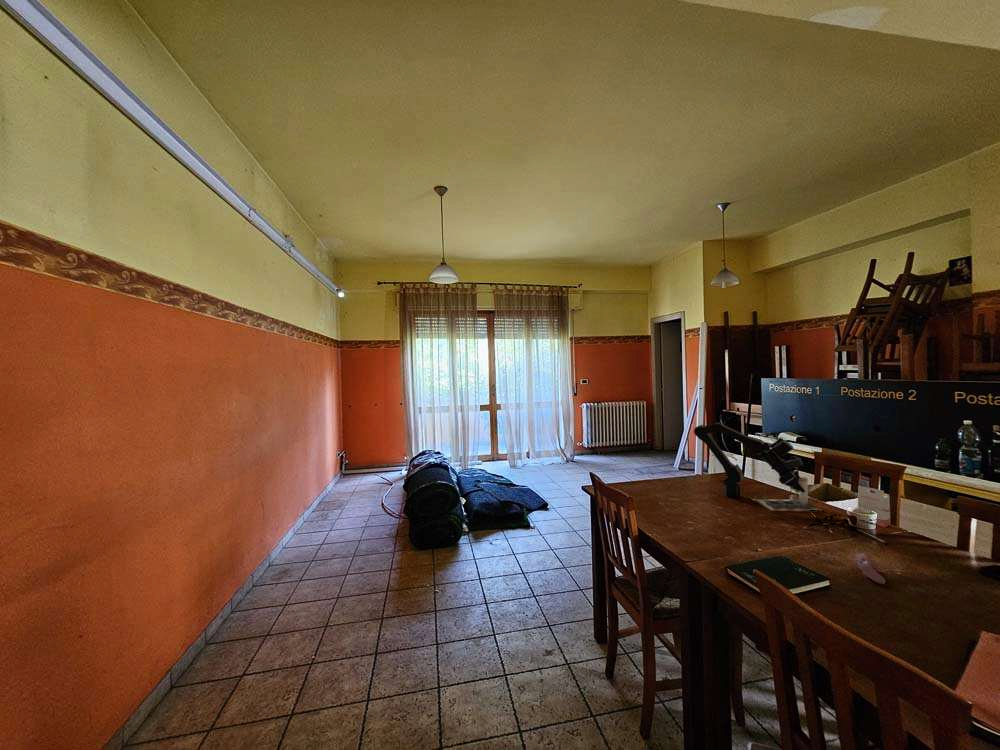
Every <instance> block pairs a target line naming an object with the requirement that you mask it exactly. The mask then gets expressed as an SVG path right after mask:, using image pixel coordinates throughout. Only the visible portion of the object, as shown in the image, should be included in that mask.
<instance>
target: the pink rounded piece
mask: <svg viewBox="0 0 1000 750" xmlns="http://www.w3.org/2000/svg"><path fill="white" fill-rule="evenodd" d="M854 561H855V562H856V563H857V564H858V567H859V569H860V571H861V572H862V574H863V576H866V578H870V579H871V580H872V581H874V582H876V583H877V584H880V585H885V584H886V583H887V582H886V579H885V578H884V576H883V575H881V574H880V573H879V572H880V571H881V567H880V566H879V565H878V563H875V562H874V561H873V560H871V558H869V557H868V556H867V555H866V554H865V553H857V554H856V553H855V558H854Z"/></svg>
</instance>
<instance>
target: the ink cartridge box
mask: <svg viewBox="0 0 1000 750" xmlns="http://www.w3.org/2000/svg"><path fill="white" fill-rule="evenodd" d="M857 491H858V492H857V509H858V508H864V509H868V510H870V511H874V512H876V513H877V524H878V525H877V526H878V527H882V528H887V527H886V525H885V524H887V525H889V526H890V525H891V503H890V499H891V498H890V495H889V496H888V495H885V491H884V490H882V489H878V488H872V487H868V486H862V485H858V487H857ZM871 491H872V492H871Z"/></svg>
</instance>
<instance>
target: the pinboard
mask: <svg viewBox="0 0 1000 750" xmlns="http://www.w3.org/2000/svg"><path fill="white" fill-rule="evenodd" d="M756 503H758V504H760V505H762V506H764V507H765V508H767V509H769V510H770V511H772V512H777V511H779V512H811V511H810V510H816V511H817V508H816V505H815V504H813V503H811V502H809V501H808V505H801V504H799V495H795V494H790V495H789V499H762V498H761V499H760V498H759V499H756Z"/></svg>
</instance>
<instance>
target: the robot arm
mask: <svg viewBox="0 0 1000 750" xmlns="http://www.w3.org/2000/svg"><path fill="white" fill-rule="evenodd" d="M713 432H714V433H715V432H719V433H720V434H723V435H725V436H727V437H728V438H731V439H733V440H735V441H737V442H739V443H741V444H742V445H744V446H745V447H746V448H747V449H749V451H751V452H753V453H755V454H756V460H757V461H759V460H760V459H762V460H763V461H764V462H766V463H767V465H768V466H770V468H771V470H774V471H775V472H776V473H777V474H778V476H779V477H778V482H779V483H780V484H782V485H784V486H787V487H790V488H792V489H794V490H796V491H798V492H799V491H801V492H803V493H804V492H805V490H804V489H803V487H802V486H801V485H800V484H799V477H801V476H800V473H799V472H800V471H799V468H800V467H803V466H804V463H803V462H802V458H800V457H797V456H796V455H793V456H791V457H790V459H789V460H786V459H784V458H781V457H780V456H783V457H784V456H785V455H787V454H788V453H790V452H791V451H792V450H794V447H793V445H792V444H791V443H789V442H788V441H786V440H785V439H783V438H782V437H779V438H777V440H776V441H774V442H773V443H771V442H767V441H766V442H765V441H764V440H762V439H761V438H760V439H759V438H756V437H753V436H748V435H746V434H743V433H742V432H739V431H738V430H735V429H733V428H732V427H729V426H727V425H724V424H723V423H721V422H716V423H712V424H708V425H705V424H700V425H698V426H696V427H695V428H694V429H693V434H694V435H695V437H697V438H698V439H699V440H700V441H702V443H704V444H705V445H706V446H707V448H708V449H709V450H710V451H711V453H712V454H713V456H714V457H715V458H716V460H717V461H718V462H719V464H721V467H722V468H723V470H724V473H725V475H726V477H725V478H724V479H723V480H722V483H723V492H721V494H722V495H723V496H725V497H726V498H728V499H729V498H730V499H731V498H733V499H738V498H739V499H742V496H741V486H740V484H739V483H740V482H741V481H742V479H743V478H744V473H743V471H744V470H743V469H741V467H740V466H739V464H738V463H736V464H733V463H732V461H730V459H729V458H728V456H726V454H725V453H724V452H723V450H722V449H721V448H720V446H719V445H718V444H717V442H716V441H715V440H714V438H713V435H712V433H713Z"/></svg>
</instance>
